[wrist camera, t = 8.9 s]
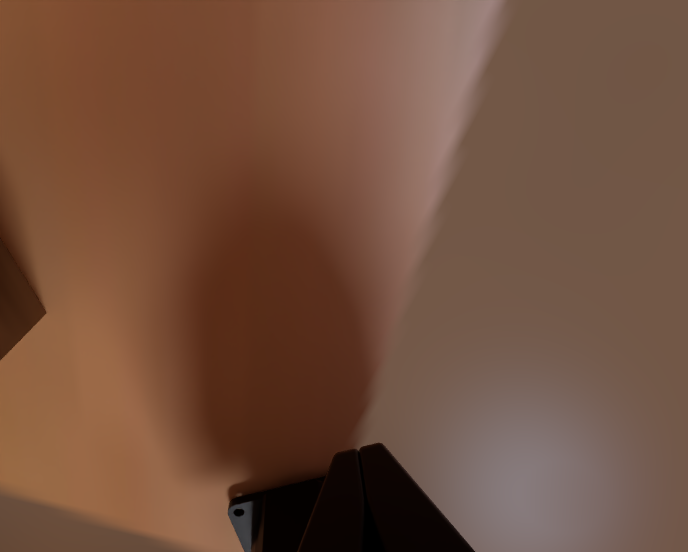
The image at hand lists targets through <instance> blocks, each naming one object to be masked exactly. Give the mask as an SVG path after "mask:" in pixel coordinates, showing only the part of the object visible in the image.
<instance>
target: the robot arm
mask: <svg viewBox="0 0 688 552" xmlns="http://www.w3.org/2000/svg"><path fill="white" fill-rule="evenodd" d="M228 516H229V518H230V520H231V522H232V525H233V527H234V529H235V531H236V534H237V536H238V538H239V540H240V542H241V545H242V547H243V549H244V551H245V552H475V551H474V550H473V549H472V547H471V546H470V545H469V544H468V543H467V542H466V540H465V539H464V538H463V537H462V536H461V535H460V533H459V532H458V531H457V530H456V529H455V528H454V526H453V525H452V524H451V523H450V522H449V520H448V519H447V518H446V517H445V516H444V515H443V514H442V513H441V511H440V510H439V509H438V508H437V507H436V505H435V504H434V503H433V502H432V501H431V500H430V498H429V497H428V496H427V495H426V494H425V492H424V491H423V490H422V489H421V488H420V487H419V486H418V484H417V483H416V482H415V481H414V480H413V479H412V477H411V476H410V475H409V474H408V473H407V471H406V470H405V469H404V468H403V467H402V466H401V464H400V463H399V462H398V461H397V460H396V459H395V457H394V456H393V455H392V454H391V453H390V452H389V450H388V449H387V448H386V447H385V446H384V445H383V444H382V443H376V444H372V445H367V446H363V447H361V448H360V450H359V451H358V450H357V449H351V450H347V451H342V452H338V453H336V454H335V455H334V457H333V460H332V462H331V465H330V468H329V470H328V473H327V475H326V476H324V477H320V478H316V479H312V480H308V481H304V482H300V483H296V484H292V485H287V486H283V487H279V488H275V489H271V490H267V491H263V492H259V493H254V494H250V495H246V496H242V497H238V498H235V499H233V500H232V501H231V502H230V503H229V508H228Z"/></svg>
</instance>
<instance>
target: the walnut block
mask: <svg viewBox="0 0 688 552" xmlns="http://www.w3.org/2000/svg"><path fill="white" fill-rule="evenodd" d="M45 314H46V311H45V310H44V308H43V307H42V305H41V303H40V302H39V300H38V298H37V297H36V295H35V293H34V292H33V290H32V289H31V287H30V285H29V284H28V282H27V280H26V279H25V277H24V276H23V274H22V272H21V271H20V269H19V267H18V266H17V264H16V262H15V261H14V259H13V258H12V256H11V254H10V253H9V251H8V249H7V248H6V246H5V245H4V243H3V241H2V240H1V238H0V360H1V359H2V358H3V357H4V356H5V355H6V354H7V353H8V352H9V351H10V350H11V349H12V348H13V347H14V346H15V345H16V344H17V343H18V342H19V341H20V340H21V339H22V338H23V337H24V336H25V335H26V334H27V333H28V332H29V331H30V330H31V329H32V328H33V326H34V325H35V324H36V323H37V322H38V321H39V320H40V319H41V318H42V317H43V316H44V315H45Z"/></svg>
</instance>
